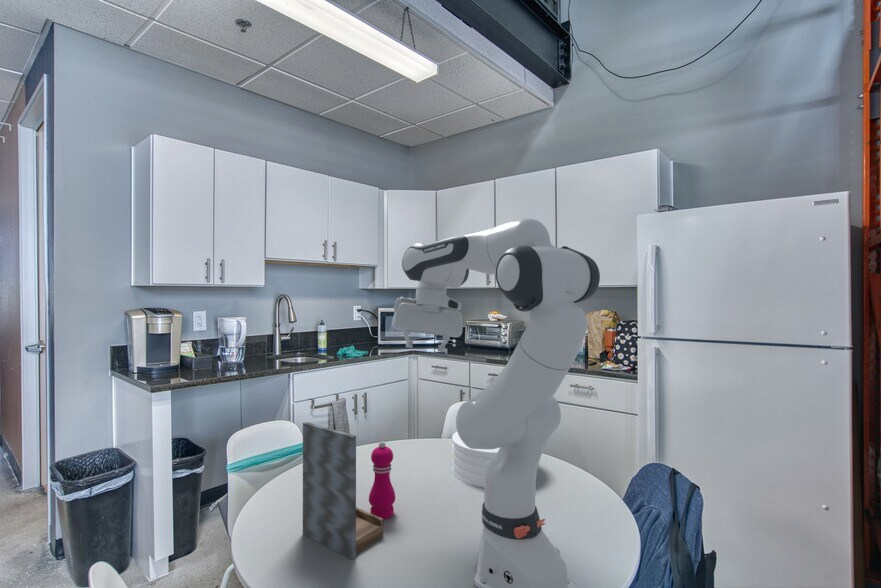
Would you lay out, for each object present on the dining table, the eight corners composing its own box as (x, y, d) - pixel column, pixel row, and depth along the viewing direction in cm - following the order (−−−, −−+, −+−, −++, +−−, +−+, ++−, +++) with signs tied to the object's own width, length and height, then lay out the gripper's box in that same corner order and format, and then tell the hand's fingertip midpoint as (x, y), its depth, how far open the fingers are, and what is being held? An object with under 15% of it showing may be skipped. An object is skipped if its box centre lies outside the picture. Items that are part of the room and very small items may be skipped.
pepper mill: (363, 517, 120) (363, 443, 120) (377, 505, 127) (377, 435, 127) (387, 522, 118) (387, 447, 118) (399, 510, 125) (399, 439, 124)
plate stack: (487, 497, 133) (487, 458, 133) (436, 466, 157) (436, 433, 156) (552, 476, 148) (552, 441, 148) (497, 451, 172) (497, 421, 172)
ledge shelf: (385, 537, 111) (386, 425, 111) (352, 559, 102) (352, 436, 101) (337, 516, 121) (337, 413, 121) (302, 534, 112) (302, 423, 112)
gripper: (397, 294, 122) (391, 344, 120) (466, 305, 128) (462, 353, 126) (392, 297, 128) (386, 345, 126) (459, 307, 134) (454, 353, 132)
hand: (425, 349), depth 126 cm, fingers open, 8 cm apart
